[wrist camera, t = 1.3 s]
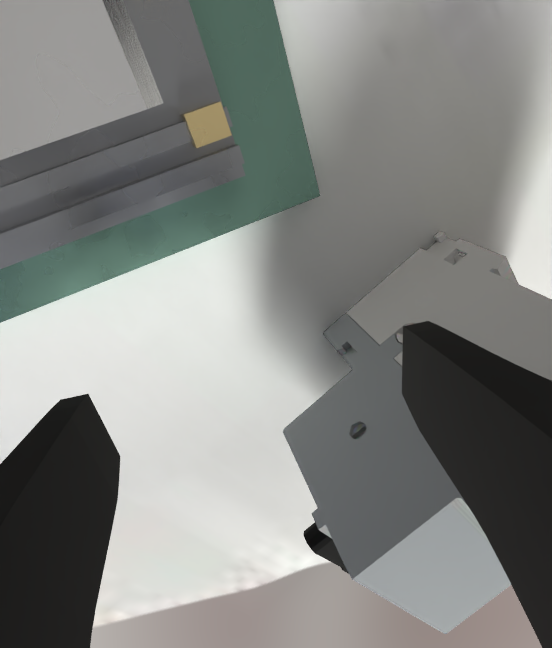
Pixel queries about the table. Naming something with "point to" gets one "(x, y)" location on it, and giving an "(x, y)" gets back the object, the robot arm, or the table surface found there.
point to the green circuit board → (160, 157)
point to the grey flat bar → (68, 70)
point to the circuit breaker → (411, 434)
